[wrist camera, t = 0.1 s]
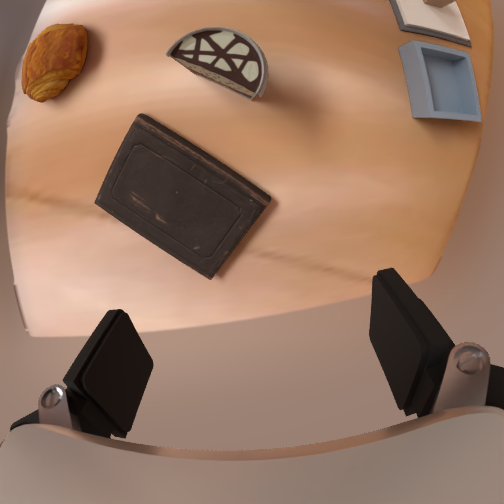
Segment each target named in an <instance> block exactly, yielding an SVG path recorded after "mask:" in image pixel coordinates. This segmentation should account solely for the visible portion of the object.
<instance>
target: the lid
mask: <svg viewBox="0 0 504 504" xmlns="http://www.w3.org/2000/svg"><path fill="white" fill-rule="evenodd" d="M396 2H397V4H398V7H399V10H400V12H401V15H402V18H403V21H404V24H405V25H407V26H412V27H417V28H422V29H427V30H431V31H435V32H439V33H443V34H446V35H450V36H453V37H457V38H460V39H463V40H466V41H468V40H470V38H469V35H468V32H467V29H466V26H465V24H464V21H463V18H462V16H461V13H460V11H459V8H458V6H457V3H456V0H396Z"/></svg>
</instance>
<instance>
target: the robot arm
mask: <svg viewBox="0 0 504 504" xmlns="http://www.w3.org/2000/svg"><path fill="white" fill-rule="evenodd" d="M369 336H370V341H371V343H372V345H373V348H374V350H375V352H376V354H377V357H378V359H379V361H380V364H381V366H382V369H383V371H384V373H385V376H386V378H387V381H388V383H389V386H390V388H391V391H392V393H393V396H394V398H395V400H396V403H397V406H398V408H399V409H400V410H402V409H403V410H404V412H405V415H406V416H409V415H411V414H414V413H416V414H417V416H418V418H417V419H413V420H410V421H407V422H403V423H400V424H397V425H394V426H390V427H387V428H383V429H380V430H376V431H373V432H368V433H364V434H360V435H356V436H351V437H347V438H343V439H338V440H332V441H327V442H322V443H315V444H309V445H302V446H294V447H285V448H274V449H261V450H240V451H239V450H238V451H213V450H211V451H209V450H188V449H176V448H165V447H157V446H150V445H143V444H136V443H130V442H124V441H119V440H114V439H111V438H110V436H111V433H112V434H113V435H114V436H115V437H120V438H126V435H127V432H129V431H130V430H131V428H132V425H133V422H134V419H135V416H136V413H137V410H138V407H139V405H140V401H141V399H142V396H143V393H144V391H145V388H146V385H147V382H148V380H149V377H150V374H151V372H152V369H153V360H152V358H151V356H150V355H149V353H148V351H147V349H146V348H145V346H144V344H143V342H142V340H141V339H140V337H139V335H138V333H137V331H136V329H135V327H134V325H133V323H132V321H131V319H130V317H129V315H128V314H127V313H125V312H124V311H123V310H122V309H117V310H109V311H108V312H107V313H106V314H105V316H104V317H103V319H102V320H101V321H100V323H99V324H98V326H97V327H96V329H95V330H94V332H93V333H92V335H91V336H90V338H89V339H88V341H87V342H86V344H85V345H84V347H83V349H82V350H81V351H80V353H79V354H78V356H77V358H76V359H75V361H74V363H73V364H72V366H71V367H70V369H69V371H68V372H67V374H66V375H65V377H64V379H63V382H64V383H65V384H66V385H67V389H64V387H63V386H62V385H59V384H55V385H52V386H50V387H48V388H46V389H45V390H44V391H43V392H42V394H41V395H40V398H39V401H38V410H36V411H34V412H32V413H31V414H29V415H27V416H25V417H23V418H21V419H20V420H18V421H16V422H14V423H13V424H12V425H11V428H10V433H9V434H8V436H7V437H6V439H5V440H4V441H3V442H2V443H1V444H0V504H504V368H503V367H499V366H495V365H492V364H490V357H489V354H488V352H487V351H486V350H485V349H484V348H483V347H482V346H480V345H479V344H476V343H473V342H464V343H460V344H458V345H456V346H455V344H454V343H453V341H452V340H451V339H450V337H449V336H448V334H447V333H446V332H445V330H444V329H443V327H442V326H441V325H440V323H439V322H438V321H437V319H436V318H435V317H434V315H433V314H432V313H431V311H430V310H429V309H428V307H426V305H425V304H424V302H423V301H422V300H421V299H419V298H418V297H417V296H416V295H415V293H414V292H413V291H412V290H411V288H410V287H409V286H408V285H407V284H406V282H405V281H404V280H403V279H402V278H401V276H400V275H399V274H398V273H397V272H396V270H395V269H394V268H389V269H384V270H379V271H378V272H377V275H375V276H373V281H372V304H371V317H370V329H369Z"/></svg>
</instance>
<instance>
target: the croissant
mask: <svg viewBox="0 0 504 504" xmlns="http://www.w3.org/2000/svg"><path fill="white" fill-rule="evenodd" d="M86 54H87V33H86V31H85V29H84V27H83V26H82V25H74V24H55V25H52V26H49V27H47V28H46V29H45V30H44V31H42V32H41V33H40V34H39V35H38V36H37V37H36V39H35V40H34V41H33V42H32V43H30V45H29V47H28V49H27V52H26V55H25V58H24V61H23V67H22V89H23V92H24V94H27V95H28V96H29V98H31V99H33V100H35V101H37V102H41V103H42V102H45V101H47V100H48V99H49V98H54V97H55V96H57V95H58V94H59V93H60V92H63V91H64V90H63V89H64V88H65V86H66V85H67V84H68V83H69V80H70V79H73V78H75V77H76V76H78V75H79V74H80V71H81V69H82V67H83V65H84V62H85V58H86Z"/></svg>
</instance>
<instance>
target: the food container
mask: <svg viewBox="0 0 504 504" xmlns="http://www.w3.org/2000/svg"><path fill="white" fill-rule="evenodd" d="M166 55H167V56H168V57H169V56H170V57H171V58H173V59H174V60H176V61H177V62H179V63H180V64H181V65H183V66H184V67H185V68H187V69H188V70H190V71H191V72H192V73H194V74H196V75H198V76H201V77H203V78H205V79H208V80H210V81H212V82H214V83H217V84H219V85H221V86H223V87H225V88H227V89H229V90H231V91H233V92H236V93H238V94H240V95H242V96H244V97H246V98H247V99H249V100H252V99H253V98H254V97H255V96H256V95H257V94H258V95H259V96H260V98H262V96H263V94H264V92H265V89H266V86H267V83H268V76H269V73H268V64H267V60H266V58H265V55H264V53H263V52H262V50H261V49H260V47H259V46H258V45H257V44H256V43H255V42H254V41H253V40H252V39H251V38H250V37H248V36H247V35H246V34H244V33H242V32H240V31H237V30H234V29H231V28H226V27H207V28H202V29H198V30H195V31H193V32H190V33H188V34H186V35H185V36H183V37H181V38H180V39H179V40H177V41H176V42H175V43H174V44H173V45H172V46H171V47H170V48H169V50H168V51H167V52H166Z"/></svg>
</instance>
